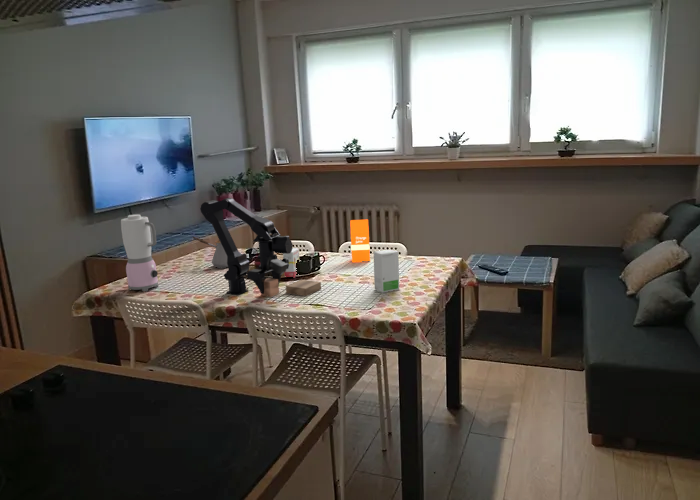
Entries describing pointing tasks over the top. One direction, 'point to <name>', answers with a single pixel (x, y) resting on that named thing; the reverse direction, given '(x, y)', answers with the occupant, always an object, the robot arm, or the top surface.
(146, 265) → the blender
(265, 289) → the terracotta cube
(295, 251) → the ink box
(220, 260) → the coffee pot
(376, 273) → the skincare box
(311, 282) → the tan square slab
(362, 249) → the orange juice
